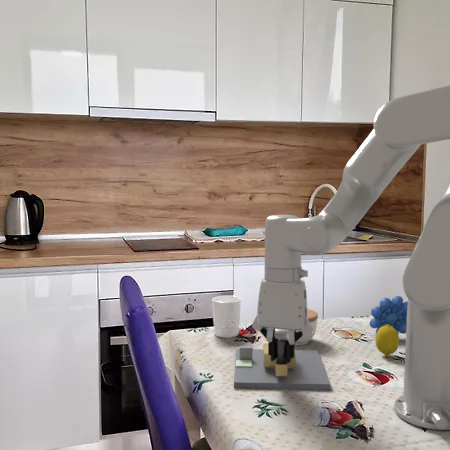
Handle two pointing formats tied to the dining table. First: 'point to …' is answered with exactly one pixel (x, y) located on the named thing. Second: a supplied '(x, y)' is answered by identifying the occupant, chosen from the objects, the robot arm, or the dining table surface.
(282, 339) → the tan peg holder
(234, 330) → the white cup
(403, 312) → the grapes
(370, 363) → the dining table surface
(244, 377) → the post base
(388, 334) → the lemon
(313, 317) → the lidded jar
